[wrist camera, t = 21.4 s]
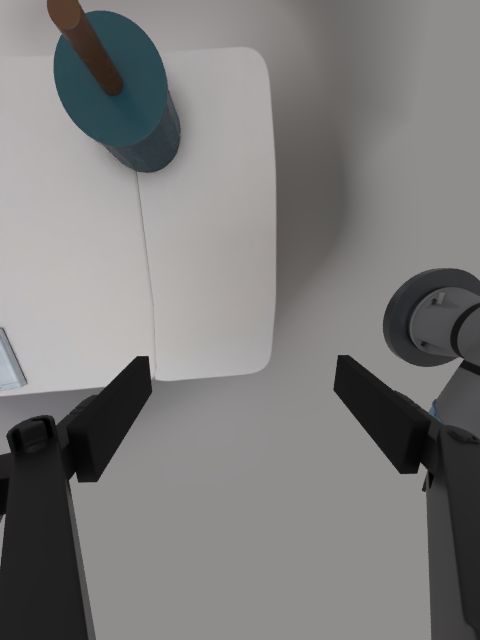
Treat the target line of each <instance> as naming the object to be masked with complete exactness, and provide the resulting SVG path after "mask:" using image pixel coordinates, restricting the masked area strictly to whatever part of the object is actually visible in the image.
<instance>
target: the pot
mask: <svg viewBox="0 0 480 640" xmlns="http://www.w3.org/2000/svg"><path fill="white" fill-rule="evenodd" d="M179 143H180V125H179V119H178V116H177V113H176V110H175V107H174V104H173V102H172V99H171V96H170V93H169V90H168V101H167V107H166V111H165V114H164V117H163V120H162V122H161V124H160V125H159V127H158V128H157V130H156V131H155V132H154V133H153V135H152V136H151V137H149V138H148V139H147V140H146V141H144V142H142V143H140V144H138V145H135V146H132V147H127V148H118V147H111V146H107V145H104V144H102V143H101V144H102V145H103V146H104V147H106V148H107V149H108V150H109V151H110V152H111V153H112V154H113V155H114V156H115V157H116V158H117V159H118V160H119V161H120V162H121V163H122V164H124V165H126V166H127V167H129V168H131V169H133V170H136V171H140V172H154V171H158V170H160V169H162V168H164V167H165V166H167V165H168V164H169V163H170V162H171V161H172V159H173V158H174V156H175V154H176V153H177V150H178V147H179Z"/></svg>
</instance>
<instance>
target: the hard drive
mask: <svg viewBox="0 0 480 640" xmlns="http://www.w3.org/2000/svg"><path fill="white" fill-rule="evenodd" d="M26 384H27V383H26V381H25V379H24V376H23V374H22V372H21V370H20V367H19V365H18V363H17V361H16V358H15V356H14V354H13V351H12V349H11V347H10V345H9V343H8V340H7V338H6V336H5V334H4V331H3V329H2V328H0V390H6V389H12V388H18V387H22V386H24V385H26Z"/></svg>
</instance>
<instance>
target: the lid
mask: <svg viewBox="0 0 480 640" xmlns="http://www.w3.org/2000/svg"><path fill="white" fill-rule="evenodd" d="M47 8H48V13H49V15H50V17H51V19H52V21H53V22H54V24H55V25H56V26H57V28H58V29H59V30H60V32H61V33H62V35H61V36H60V39H59V41H58V44H57V47H56V51H55V56H54V78H55V84H56V88H57V91H58V95H59V97H60V100H61V102H62V104H63V106H64V108H65V110H66V112H67V113H68V115H69V116H70V118H71V119H72V120H73V122H74V123H75V124H76V125H77V126H78V127H79V128H80V129H81V130H82V131H83V132H84V133H85V134H87V135H88V136H89V137H91V138H92V139H94V140H96V141H97V142H99V143H102V144H104V145H107V146H111V147H118V148H127V147H132V146H135V145H138V144H140V143H142V142H144V141H146V140H147V139H148V138H149V137H151V136H152V135H153V133H154V132H155V131H156V130H157V128H158V127H159V125H160V124H161V122H162V120H163V117H164V114H165V111H166V107H167V101H168V84H167V77H166V72H165V69H164V66H163V63H162V60H161V57H160V55H159V53H158V51H157V49H156V47H155V45H154V44H153V42H152V41H151V39H150V38H149V37H148V35H147V34H146V33H145V32H144V31H143V30H142V29H141V28H140V27H139V26H138V25H137V24H135V23H134V22H132V21H131V20H129V19H128V18H126V17H124V16H122V15H120V14H117V13H114V12H110V11H92V12H88V13H84V11H83V9H82V7H81V5H80V4H79V2H78V0H47Z"/></svg>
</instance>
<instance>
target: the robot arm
mask: <svg viewBox="0 0 480 640" xmlns="http://www.w3.org/2000/svg"><path fill="white" fill-rule="evenodd" d="M406 332H407V336H408V338H409V340H410V342H411V343H412V344H413V345H414V346H415V347H416V348H418V349H420V350H422V351H424V352H426V353H429V354H434V355H443V356H452V357H461V358H463V359H464V360H463V362H462V363H461V364H460V366H459V367H458V369H457V370H456V372H455V373H454V375H453V376H452V377H451V379H450V381H449V382H448V383H447V385H446V386H445V388H444V389H443V391H442V392H441V394H440V395H439V397H438V398H437V399H435V400H434V401H433V403H432V407H431V409H430V410H429V412H427V411H425V410H424V409H421V407H420V406H419V405H417V404H416V403H414V401H412V400H411V399H410V398H408V397H407V396H405V395H403V394H401V393H399V392H397V391H393V390H392V389H391V388H389V387H388V386H387V385H386V384H384V383H383V382H382V381H381V380H379V379H378V378H377V377H376V376H374V375H373V374H372V373H370V372H369V371H368V370H367V369H366V368H364V367H363V366H362V365H360V364H359V363H358V362H357V361H355V360H354V359H353V358H352V357H350V356H349V355H338V360H337V367H336V375H335V382H334V391H335V392H336V394H337V395H338V396H339V398H340V399H341V400H342V401H343V403H344V404H345V405H346V406H347V408H348V409H349V410H350V411H351V413H352V414H353V415H354V416H355V418H356V419H357V420H358V421H359V423H360V424H361V425H362V426H363V428H364V429H365V430H366V431H367V433H368V434H369V435H370V436H371V438H372V439H373V440H374V441H375V443H376V444H377V445H378V446H379V448H380V449H381V450H382V451H383V453H384V454H385V455H386V457H387V458H388V459H389V460H390V462H392V464H393V465H394V467H395V468H396V469H397V470H398V472H399V473H400V474H417V472H418V469H419V465H420V462H421V463H422V464H423V465H424V466H425V467H426V469H427V470H428V471H427V475H426V478H425V482H424V485H423V488H422V491H424V492H425V491H426V497H427V524H428V553H429V581H430V610H431V637H432V640H480V296H478V295H476V294H474V293H472V292H470V291H468V290H465V289H462V288H456V287H440V288H436V289H433V290H431V291H429V292H427V293H426V294H424V295H423V296H422V297H421V298H419V299H418V300H417V302H416V303H415V304H414V305H413V307H412V308H411V310H410V312H409V315H408V317H407V322H406ZM151 393H152V386H151V376H150V366H149V356H137V357H136V358H135V359H134V360H133V361H132V362H131V363H130V364H129V365H128V366H127V367H126V368H125V369H124V370H123V371H122V372H121V373H120V374H119V375H118V376H117V377H116V378H115V379H114V380H113V381H112V382H111V383H110V384H109V385H108V386H107V387H106V388H105V389H104V390H103V391H102V392H101V393H100V394H99V395H92V396H90V397H88V398H87V399H85V400H84V401H82V402H81V403H80V404H79V405H78V406H77V407H76V408H75V409H73V410H72V411H71V412H70V414H69V415H67V416H66V417H65V418H64V419H63V420H61V421H60V422H59V423H58V424H57V425H55V421H54V418H53V417H52V416H48V415H42V416H37V417H33V418H30V419H27V420H25V421H22V422H21V423H19V424H17V425H16V426H14V427H13V428H12V429H11V430H9V431H8V433H7V436H6V437H7V440H8V443H9V446H10V449H11V453H7V454H3V455H0V522H1V520H2V517H3V515H4V514H6V518H5V528H4V538H3V547H2V557H1V566H0V640H96V637H95V631H94V625H93V619H92V614H91V607H90V602H89V596H88V590H87V584H86V578H85V572H84V566H83V560H82V554H81V548H80V542H79V536H78V530H77V525H76V519H75V513H74V507H73V501H72V495H71V489H70V484H69V480H70V479H71V477H72V476H73V474H74V473H75V472H76V474H77V479H78V482H97V481H98V480H99V478H100V476H101V474H102V473H103V471H104V470H105V468H106V466H107V465H108V463H109V462H110V460H111V458H112V457H113V455H114V453H115V452H116V450H117V448H118V447H119V445H120V444H121V442H122V440H123V439H124V437H125V435H126V434H127V432H128V431H129V429H130V427H131V426H132V424H133V422H134V421H135V419H136V418H137V416H138V414H139V413H140V411H141V409H142V408H143V406H144V404H145V403H146V401H147V400H148V398H149V396H150V395H151Z"/></svg>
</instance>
